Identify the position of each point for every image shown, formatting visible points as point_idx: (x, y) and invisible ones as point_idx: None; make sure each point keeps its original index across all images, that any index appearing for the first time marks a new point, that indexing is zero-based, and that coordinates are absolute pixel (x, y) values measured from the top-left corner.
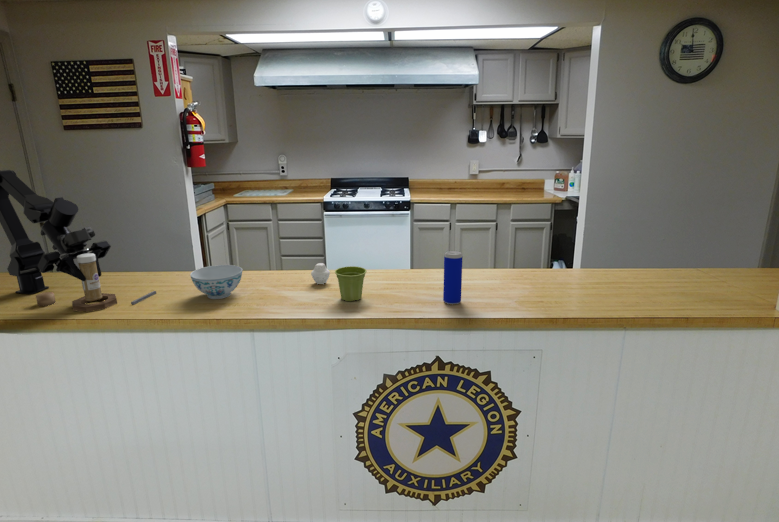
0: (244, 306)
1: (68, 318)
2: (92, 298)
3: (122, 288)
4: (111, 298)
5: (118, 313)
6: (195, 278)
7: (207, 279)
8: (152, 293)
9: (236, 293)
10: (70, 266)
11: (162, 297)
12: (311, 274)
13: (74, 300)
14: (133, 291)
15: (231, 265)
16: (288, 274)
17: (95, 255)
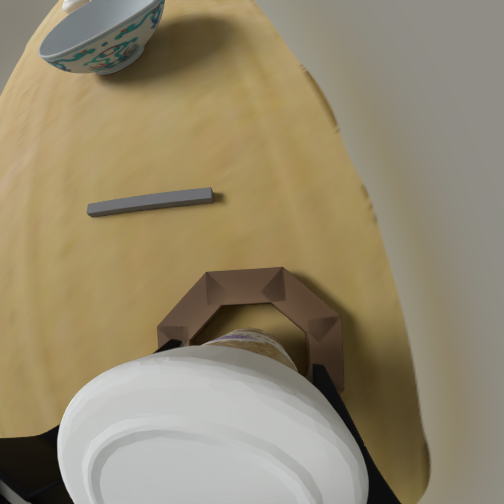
0: (186, 4)
1: (402, 325)
2: (278, 343)
3: (69, 387)
4: (212, 294)
5: (306, 179)
6: (153, 1)
7: None
8: (106, 202)
9: None
10: (389, 493)
11: (128, 157)
12: (78, 2)
13: None
14: (82, 317)
15: (50, 33)
16: (25, 65)
17: (41, 456)
